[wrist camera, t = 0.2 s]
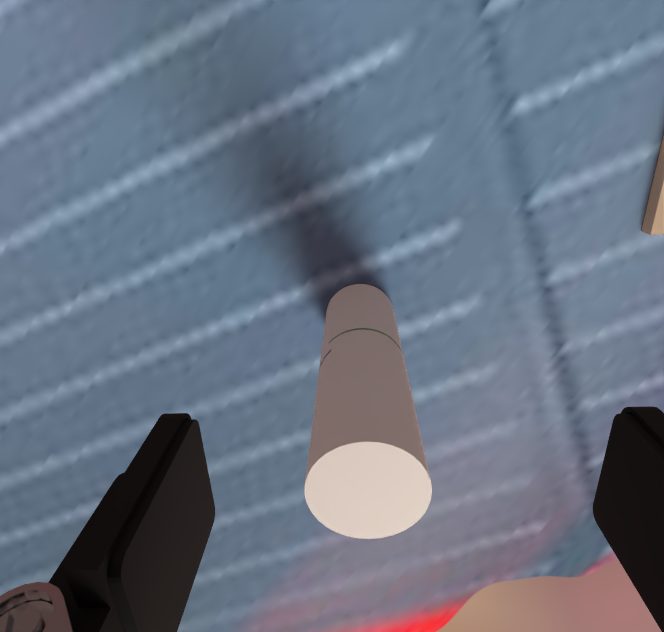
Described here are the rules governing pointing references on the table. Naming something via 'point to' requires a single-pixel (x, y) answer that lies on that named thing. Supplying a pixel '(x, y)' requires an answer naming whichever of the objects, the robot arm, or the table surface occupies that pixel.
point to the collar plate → (656, 200)
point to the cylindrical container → (365, 424)
